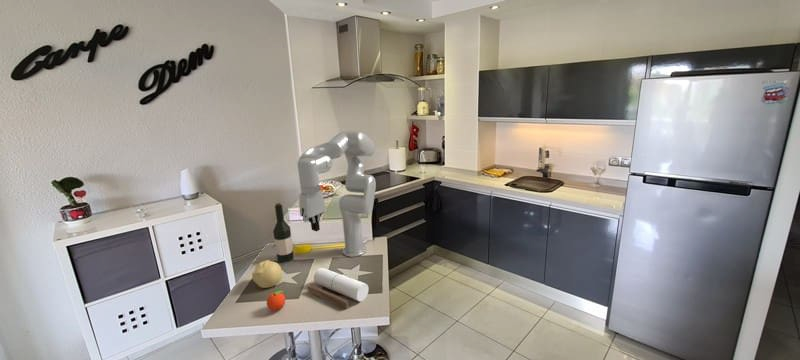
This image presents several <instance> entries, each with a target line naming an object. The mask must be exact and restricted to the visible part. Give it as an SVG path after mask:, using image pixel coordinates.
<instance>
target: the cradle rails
mask: <svg viewBox="0 0 800 360" xmlns="http://www.w3.org/2000/svg"><path fill="white" fill-rule="evenodd" d="M307 292H308V293H309V294H312V295H314V296H315V297H318V298H320V299H322V300H324V301H327V302H328V303H332V304H334V305H336V306H337V307H340V308H342V309H345V310H347V309H349V307H350V305H349V304H350V303H349V300H348V299H346V298H343V297H341V296H339V295H336V294H334V293H331V292H329V291H327V290H324V289H322V288H320V287H317V286H314V285H312V284H309V285H307Z"/></svg>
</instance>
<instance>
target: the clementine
mask: <svg viewBox="0 0 800 360" xmlns="http://www.w3.org/2000/svg"><path fill="white" fill-rule="evenodd" d="M283 293H285V292H284V290H278V291H275V292H272V293H271V294H269V296H268V297H267V299H266V305H267V308H268V309H269V310H271V311H273V312H275V311H279V310H281V309H282V308H283V307H284V306H285V303H286V297H285V295H284V294H283Z"/></svg>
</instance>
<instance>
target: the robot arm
mask: <svg viewBox="0 0 800 360" xmlns="http://www.w3.org/2000/svg"><path fill="white" fill-rule="evenodd" d="M375 150H376V146H375V143H374V141H373V140H372V139H371V138H370V137H369V136H368V135H366V133H364V132H362V131H358V130H356V131H355V130H354V131H353V130H352V131H351V130H350V131H349V130H348V131H347V130H344V131H341V132H339V133H338V134H336V135H335V136H334V137H332V138H331V139H330V140H329V141H327V142H324V143H321V144H318V145H315V146H312V147H311V148H308V149H307V150H306V151H304V152H303V153H302V154H300V156H299V158H298V161H297V165H296V166H297V173H298V179H299V180H298V181H299V185H300V192H301V193H300V194H299V200H298V203H299V204H298V206H299V215H300V217H302V221H303V222H309V223H310V226H311V230H312V231H314V232H319V231H320V221H321V217H322V215H324V214H325V210H326V207H325V206H326V205H325V198H324V195H323V192H322V189H321V186H322V184H321V182H320V178H319V175H320V174H325V173H328V172H329V171H330V170H331V169H332V167H333V165H334V164H333V160H335V159H338V158H340V157H341V156H343V154H344V156H345V158H346V160H347V171H346V178H345V186H344V187H345V190H346V191H347V192H349V193H359V194H344V195H342V196H341V197H340V198H339V201H338V204H339V205H338V206H339V210H340V213H341V219H342V228H343V237H344V239H343V240H344V248H342V254H343V256H346V257H348V258H349V257H352V258H353V257H354V258H355V257H359V256H362V255H363V254H365V253H366V252H367V247H366V246H365V245H366V244H367V243H368V242H369V239H368V238H365V239H363V230H362V229H363V227H362V218H361V216H360V215H370V213H372V211H373V209H374V202H375V195H376V188H377V183H376V182H377V181H376V178H375V177H374V176H373V175H371V174H364V173H365V164H364V161H363V160H362V159H361V157H371V156H373V155H374V154H375Z"/></svg>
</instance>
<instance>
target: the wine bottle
mask: <svg viewBox="0 0 800 360" xmlns="http://www.w3.org/2000/svg"><path fill="white" fill-rule="evenodd" d="M274 210H275V216H276V217H275V218H276V224H275V227H274V228H273V232H272V233H273V239H274V244H275V252H276V259H277V262H278V263H281V264H284V263H289V262H292V261H293V260H294V258H295V254H294V253H295V252H294V247H293V245H294V244H293V238H292V232H291V231H292V230H291V226H289V224H288V223H287V222H286V221H285V218H284V211H283V205H282V204H281V203H275V205H274Z"/></svg>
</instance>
